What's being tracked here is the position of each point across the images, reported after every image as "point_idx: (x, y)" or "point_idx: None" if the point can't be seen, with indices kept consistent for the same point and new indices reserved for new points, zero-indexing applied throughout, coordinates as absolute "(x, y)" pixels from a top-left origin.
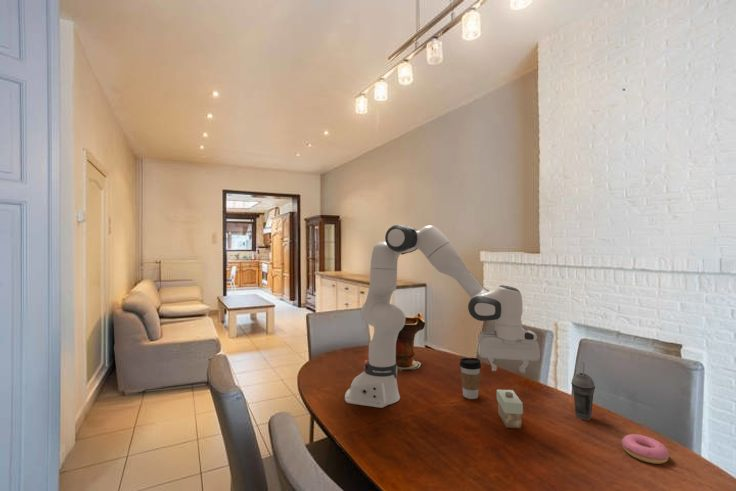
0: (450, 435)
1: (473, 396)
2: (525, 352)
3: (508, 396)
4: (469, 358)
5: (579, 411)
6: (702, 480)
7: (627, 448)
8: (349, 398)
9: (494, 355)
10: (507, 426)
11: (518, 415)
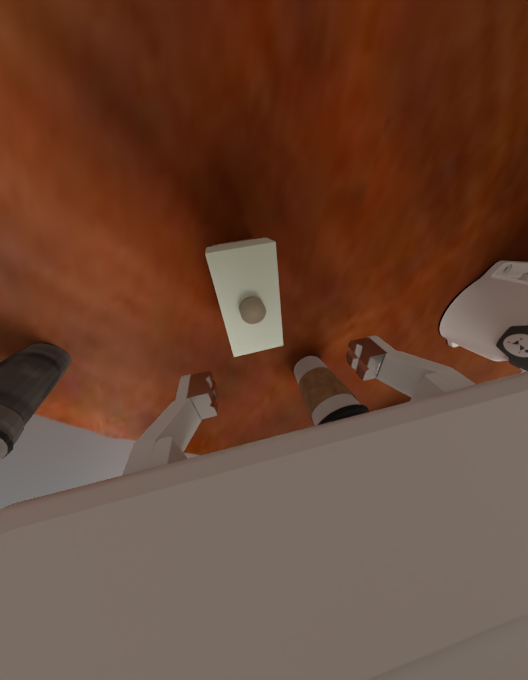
0: (412, 142)
1: (306, 360)
2: (105, 642)
3: (255, 297)
4: None
5: (41, 357)
6: None
7: None
8: None
9: (499, 412)
10: (249, 239)
11: None
